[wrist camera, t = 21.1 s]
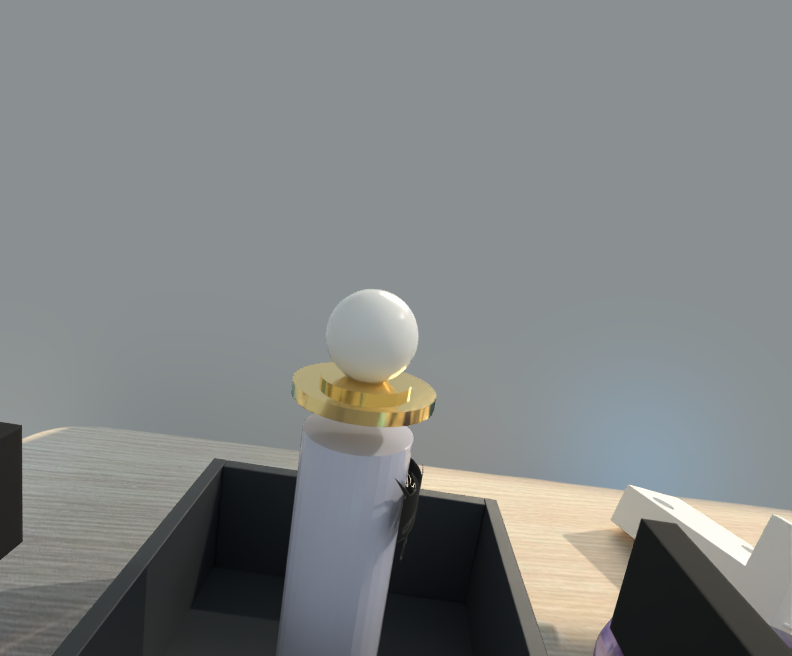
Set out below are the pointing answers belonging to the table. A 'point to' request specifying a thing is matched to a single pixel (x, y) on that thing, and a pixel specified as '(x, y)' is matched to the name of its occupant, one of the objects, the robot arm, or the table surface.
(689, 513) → the bracket
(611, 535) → the table surface
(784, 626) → the desk lamp
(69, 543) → the table surface
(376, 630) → the perfume bottle
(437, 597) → the bin
